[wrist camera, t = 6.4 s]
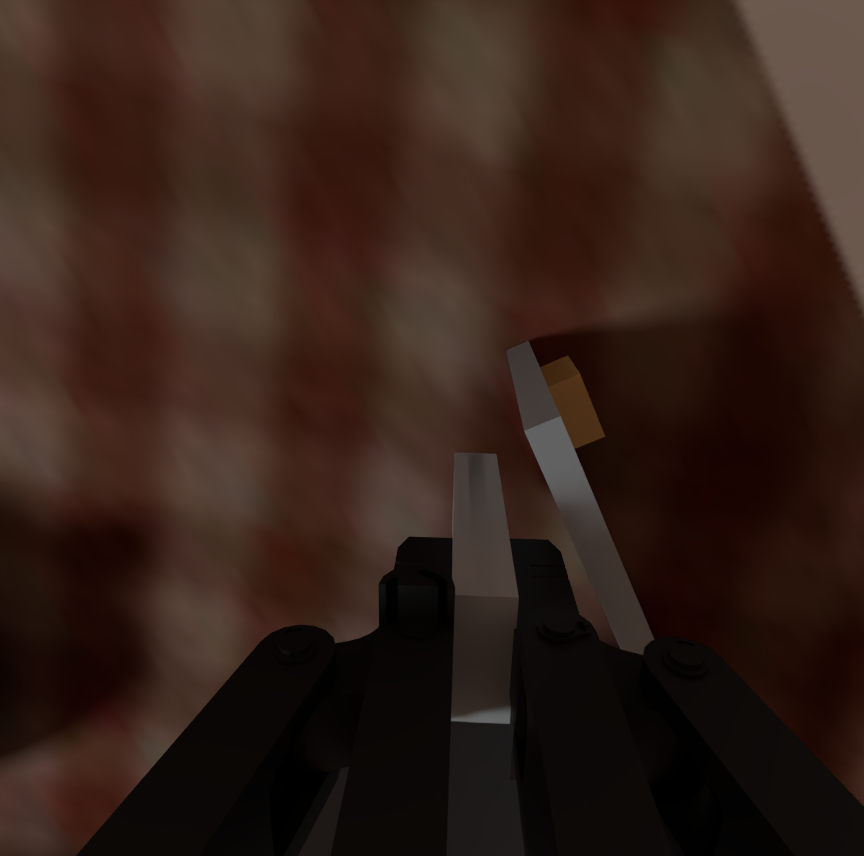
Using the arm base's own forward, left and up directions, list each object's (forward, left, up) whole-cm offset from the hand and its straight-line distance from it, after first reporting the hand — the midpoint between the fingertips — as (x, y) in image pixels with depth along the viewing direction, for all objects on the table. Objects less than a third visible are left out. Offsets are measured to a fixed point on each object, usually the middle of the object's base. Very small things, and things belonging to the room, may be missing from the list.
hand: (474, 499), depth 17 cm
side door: (+4, -2, -3) cm, 5 cm away
